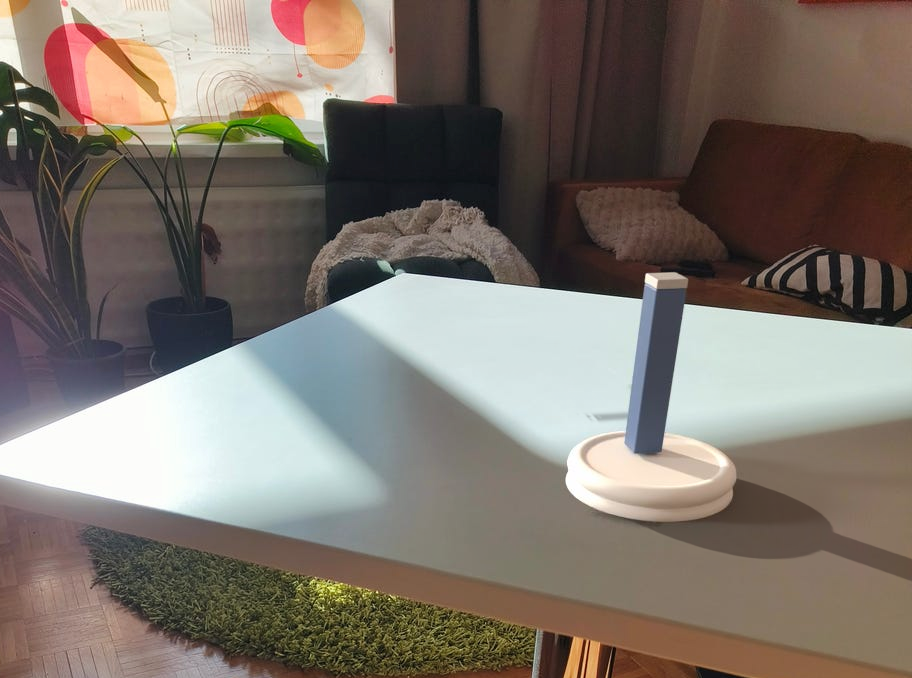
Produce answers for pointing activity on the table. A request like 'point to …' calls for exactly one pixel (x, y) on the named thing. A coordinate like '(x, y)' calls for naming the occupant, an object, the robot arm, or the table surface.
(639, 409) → the blue square bar
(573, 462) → the coaster
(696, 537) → the table surface
